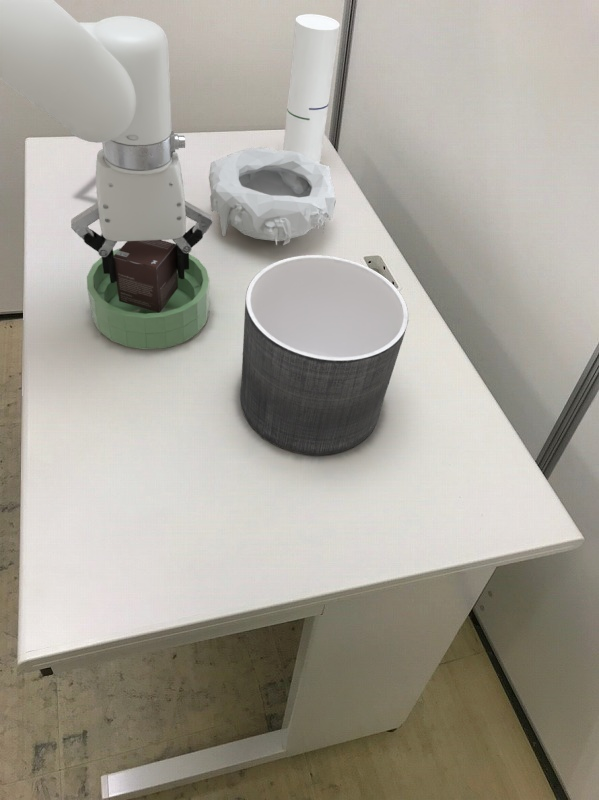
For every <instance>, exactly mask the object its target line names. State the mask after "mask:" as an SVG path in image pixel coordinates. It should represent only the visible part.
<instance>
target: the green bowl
mask: <svg viewBox="0 0 599 800" xmlns="http://www.w3.org/2000/svg"><path fill="white" fill-rule="evenodd" d="M121 248H122V247H120V248H117V249H115V250H114V249H113V254H114V255H115V254H116V253H117V252H118V251H119V250H120V249H121ZM184 276H185V279H180V278H179V276H178V271H177V278H178V279H177V280H178V288H177V290H176V291H175V293H174V294H173V295H172V296H171V298H170V299H169V301H168V302H167V303H166V305H165V306H164V307H163V309H162V310H161V312H160V313H158V312H155V311H152V310H148V309H145V308H141V307H138V306H134V305H131V304H127V303H124V302H120V301H119V296H118V290H117V282H115V283H111V281H110V274H104V270H103V263H102V257H101V256H100V258H99V259H98V260H96V261H95V262H94V263H93V264H92V266H91V267H90V268H89V271H88V273H87V275H86V283H87V284H86V285H87V286H86V288H87V293H88V300H89V305H90V311H91V317H92V321H93V323H94V325H95V326H96V328H97V329H98V332H100V333H101V334H103V335H104V336H105V337H106V338H108V339H109V340H110V341H112V342H115V343H117V344H120V345H123V346H125V347H127V348H133V349H141V350H155V349H166V348H167V349H168V348H170V347H173V346H176V345H180V344H183V343H185V342H186V341H188V340H190V339H191V338H193V337H195V336H196V335H197V334H198V333H199V332H200V331H201V330H202V329H203V327H204V326H205V325H206V324H207V321H208V318H209V313H210V278H209V274H208V270H207V268H206V267H205V266H204V264H203V263H202V261H200V259H198V258H197V257H195V256H193V255H192V254H190V253H189V270H184Z"/></svg>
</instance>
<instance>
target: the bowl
mask: <svg viewBox="0 0 599 800" xmlns="http://www.w3.org/2000/svg"><path fill="white" fill-rule="evenodd" d="M208 173H209V174H208V183H209V188H210V196H209V199H210V212H216V213H217V214H218V217H219V221H220V229H221V235H222V237H223V236H226V234H227V230H228V227H229V224H230V225H231V226H233V227H234V228H235V229H237V230H238V231H239V232H240V234H242V235H245V236H248V237H251V238H252V239H256V240H265V241H272V242H273V241H274V242H275V246H278V242H282V241H284V242H283V244H282V245H283V246H285V245H288V244H289V243H290V242H291V239H294V238H299V237H302V236H305V235H306V234H307V233H308V232H309V231H312V229H314V230H315V229H316V226H317V229H319V227H321V229H322V233H325V232H324V230H325V228H324V227H326V221H327V220H326V219H327V218H328V219H329V221H334V219H333V218H334V210H335V206H336V201H337V200H336V199H337V197H336V193H335V186H334V184H333V181H332V180H333V179H332V178H331V169H330V166H329V165H325V164H322V163H321V162H320V163H318V162H316V161H314V160H312V159H310V158H309V157H307V156H305V155H303V154H301V153H298V152H292V151H283V150H278V149H277V150H276V149H272V148H270V147H267V146H265V147H253V146H251V147H248V148H245V149H242V150H238V151H236V152H233V153H230V154H227V155H225V156H224V157H222V158H220V159H216V160H213V161H211V162H210V167H209V172H208Z"/></svg>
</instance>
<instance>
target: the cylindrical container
mask: <svg viewBox="0 0 599 800" xmlns="http://www.w3.org/2000/svg"><path fill="white" fill-rule="evenodd" d="M340 25H341V24H340V22H339V21H338V20H336V19H334V18H332V17H330V16H327V15H322V14H318V13H317V14H315V13H306V14H305V13H304V14H300V15H297V16H296V17H295V23H294V32H293V33H294V34H293V44H292V52H291V53H292V54H291V65H290V74H289V84H288V85H289V86H288V94H287V105H286V115H285V126H284V136H283V147H282V151H292V152H298V153H301V154H303V155H305V156H307V157H309V158H310V159H312V160H314V161H316V162H318V163H320V164H321V159H322V152H323V145H324V139H325V132H326V124H327V118H328V112H329V102H330V97H331V90H332V83H333V76H334V69H335V61H336V54H337V48H338V41H339V35H340V34H339V33H340Z"/></svg>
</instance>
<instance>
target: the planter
mask: <svg viewBox="0 0 599 800" xmlns="http://www.w3.org/2000/svg"><path fill="white" fill-rule="evenodd" d="M244 303H245V305H244V318H243V319H244V320H243V322H244V323H243V339H242V340H243V341H242V362H241V379H240V380H241V383H240V391H239V403H240V408H241V410H242V412H243V416H244V417H245V420H246V421H247V422H248V424H249V425H250V426H251V428H252V429H253V430H254V431H255V432H256V433H257V434H258V435H259V436H261V437H262V438H263V439H265V440H266V441H267V442H269V443H271V444H273V445H274V446H277V447H279V448H281V449H285V450H286V451H290V452H292V453H297V454H303V455H313V456H324V455H333V454H337V453H342V452H344V451H347V450H349V449H352V448H354V447H356V446H357V445H359V444H360V443H362V442H363V441H364V440H366V439H367V438H368V437H369V436H370V435H371V434H372V432H373V431H374V430H375V428H376V426H377V424H378V421H379V418H380V414H381V409H382V407H383V403H384V400H385V396H386V394H387V391H388V387H389V384H390V382H391V378H392V375H393V372H394V369H395V366H396V363H397V362H396V361H397V359H398V356H399V353H400V350H401V348H402V347H401V346H402V343H403V341H404V337H405V335H406V330H407V327H408V324H409V309H408V306H407V303H406V300H405V298H404V297H403V295H402V294H401V292H400V291H399V289H398V288H397V287H396V286H395V285H394V284H393V283H392V282H391V281H390V280H389V279H387V278H386V277H385V276H384V275H382V274H380V273H379V272H377V271H376V270H375V269H373V268H370V267H368V266H366V265H364V264H362V263H359V262H357V261H353V260H350V259H347V258H342V257H338V256H332V255H323V254H322V255H321V254H307V255H296V256H291V257H286V258H284V259H280V260H277V261H275V262H273V263H271V264H269V265H267V266H265V267H264V268H262V269H261V270H260V271H258V272H257V274H256V275H255V276H254V277H253V278H252V279H251V280H250V282H249V284H248V286H247V289H246V292H245V302H244Z"/></svg>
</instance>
